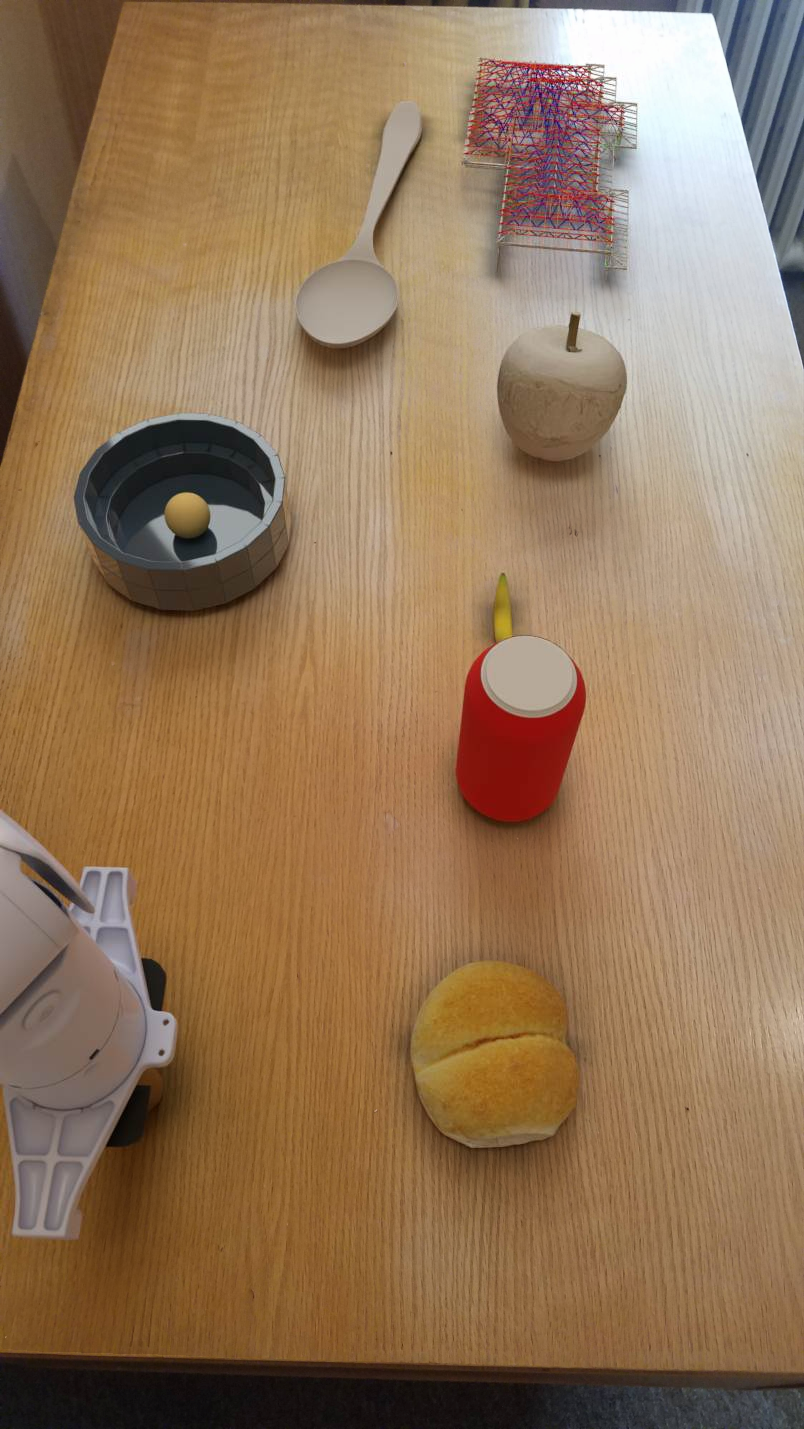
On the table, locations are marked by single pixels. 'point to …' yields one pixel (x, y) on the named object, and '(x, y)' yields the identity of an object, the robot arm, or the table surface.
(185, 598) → the bowl
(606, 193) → the roof frame
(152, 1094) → the brown wooden dowel
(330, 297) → the spoon
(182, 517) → the ball
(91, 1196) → the table surface
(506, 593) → the fruit
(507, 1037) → the bread roll
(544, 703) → the beverage can
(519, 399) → the decorative object
